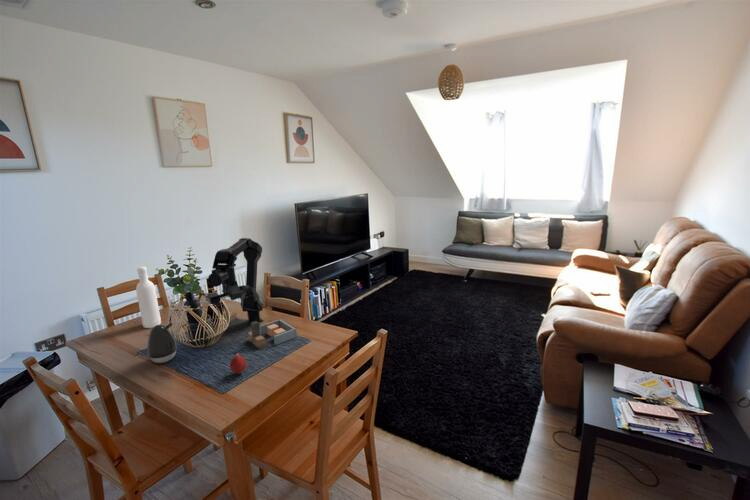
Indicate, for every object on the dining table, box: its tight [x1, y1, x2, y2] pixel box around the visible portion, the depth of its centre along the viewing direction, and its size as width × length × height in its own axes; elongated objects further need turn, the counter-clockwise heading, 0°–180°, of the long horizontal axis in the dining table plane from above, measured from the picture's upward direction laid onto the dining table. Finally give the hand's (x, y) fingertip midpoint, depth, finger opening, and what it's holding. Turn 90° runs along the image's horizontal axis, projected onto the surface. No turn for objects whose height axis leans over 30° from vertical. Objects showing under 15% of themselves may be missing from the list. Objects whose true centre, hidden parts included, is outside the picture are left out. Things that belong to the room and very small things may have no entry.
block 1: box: [266, 324, 280, 338], centre depth 164 cm, size 4×4×4 cm
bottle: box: [135, 266, 162, 329], centre depth 174 cm, size 8×8×30 cm
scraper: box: [247, 321, 267, 350], centre depth 155 cm, size 11×3×10 cm, turn 42°
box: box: [259, 318, 298, 346], centre depth 162 cm, size 15×10×4 cm
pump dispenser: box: [146, 322, 178, 364], centre depth 143 cm, size 10×10×15 cm
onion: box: [229, 353, 248, 374], centre depth 133 cm, size 6×6×8 cm
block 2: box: [273, 328, 286, 337], centre depth 159 cm, size 4×4×4 cm
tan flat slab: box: [230, 311, 238, 323], centre depth 179 cm, size 26×11×1 cm, turn 162°
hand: (232, 312), depth 157 cm, fingers open, 9 cm apart
